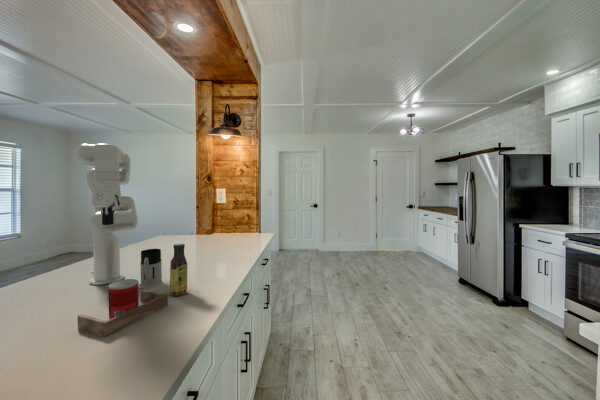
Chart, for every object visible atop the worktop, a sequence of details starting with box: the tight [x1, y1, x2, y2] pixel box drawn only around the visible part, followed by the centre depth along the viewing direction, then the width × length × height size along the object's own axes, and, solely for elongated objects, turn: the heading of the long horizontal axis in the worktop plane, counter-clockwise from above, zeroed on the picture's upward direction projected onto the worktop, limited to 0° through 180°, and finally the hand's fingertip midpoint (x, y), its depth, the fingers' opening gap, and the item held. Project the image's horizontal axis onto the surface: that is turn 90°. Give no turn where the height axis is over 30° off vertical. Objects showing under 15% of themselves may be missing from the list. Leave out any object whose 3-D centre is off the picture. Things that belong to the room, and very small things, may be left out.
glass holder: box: [139, 248, 164, 289], centre depth 107 cm, size 9×14×15 cm, turn 18°
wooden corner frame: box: [77, 289, 169, 338], centre depth 82 cm, size 12×21×4 cm, turn 160°
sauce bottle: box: [169, 242, 188, 297], centre depth 100 cm, size 6×6×20 cm
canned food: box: [107, 278, 139, 320], centre depth 82 cm, size 8×8×11 cm
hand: (108, 224), depth 97 cm, fingers closed
